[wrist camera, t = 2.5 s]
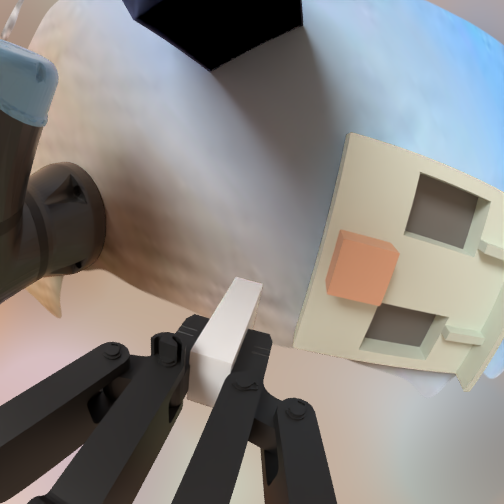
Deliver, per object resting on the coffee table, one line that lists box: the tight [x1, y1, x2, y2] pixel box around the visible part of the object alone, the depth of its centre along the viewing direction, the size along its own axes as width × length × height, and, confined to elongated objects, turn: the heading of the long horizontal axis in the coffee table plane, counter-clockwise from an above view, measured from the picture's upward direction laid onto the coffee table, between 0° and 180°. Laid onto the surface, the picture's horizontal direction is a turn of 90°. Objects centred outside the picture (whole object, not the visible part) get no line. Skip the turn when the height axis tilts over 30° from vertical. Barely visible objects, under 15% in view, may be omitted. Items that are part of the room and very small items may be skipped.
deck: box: [293, 132, 504, 392], centre depth 24 cm, size 23×22×6 cm
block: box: [325, 229, 400, 306], centre depth 24 cm, size 5×5×3 cm
